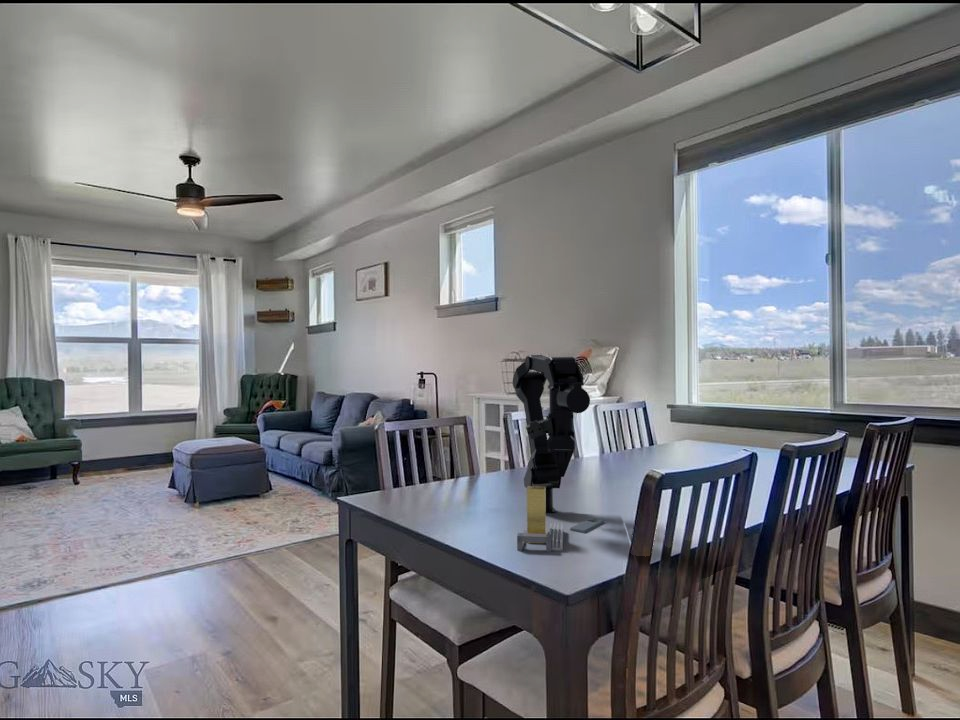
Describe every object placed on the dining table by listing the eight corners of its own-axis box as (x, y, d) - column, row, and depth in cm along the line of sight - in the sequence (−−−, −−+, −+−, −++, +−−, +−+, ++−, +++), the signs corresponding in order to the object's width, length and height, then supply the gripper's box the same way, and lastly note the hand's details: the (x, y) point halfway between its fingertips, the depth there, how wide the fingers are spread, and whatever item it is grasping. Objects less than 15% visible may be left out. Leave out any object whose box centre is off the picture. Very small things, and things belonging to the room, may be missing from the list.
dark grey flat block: (569, 536, 135) (569, 527, 135) (590, 525, 143) (590, 517, 143) (584, 539, 133) (584, 530, 133) (605, 528, 141) (605, 520, 141)
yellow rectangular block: (528, 534, 132) (527, 485, 132) (546, 534, 132) (545, 486, 132) (526, 542, 126) (525, 492, 126) (544, 543, 126) (544, 492, 126)
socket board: (512, 533, 136) (512, 516, 136) (564, 534, 135) (563, 517, 135) (504, 556, 121) (504, 537, 121) (563, 558, 119) (563, 539, 119)
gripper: (530, 404, 151) (531, 464, 152) (525, 412, 133) (525, 481, 133) (574, 405, 150) (574, 465, 150) (574, 413, 131) (574, 482, 132)
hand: (561, 473), depth 141 cm, fingers open, 8 cm apart
